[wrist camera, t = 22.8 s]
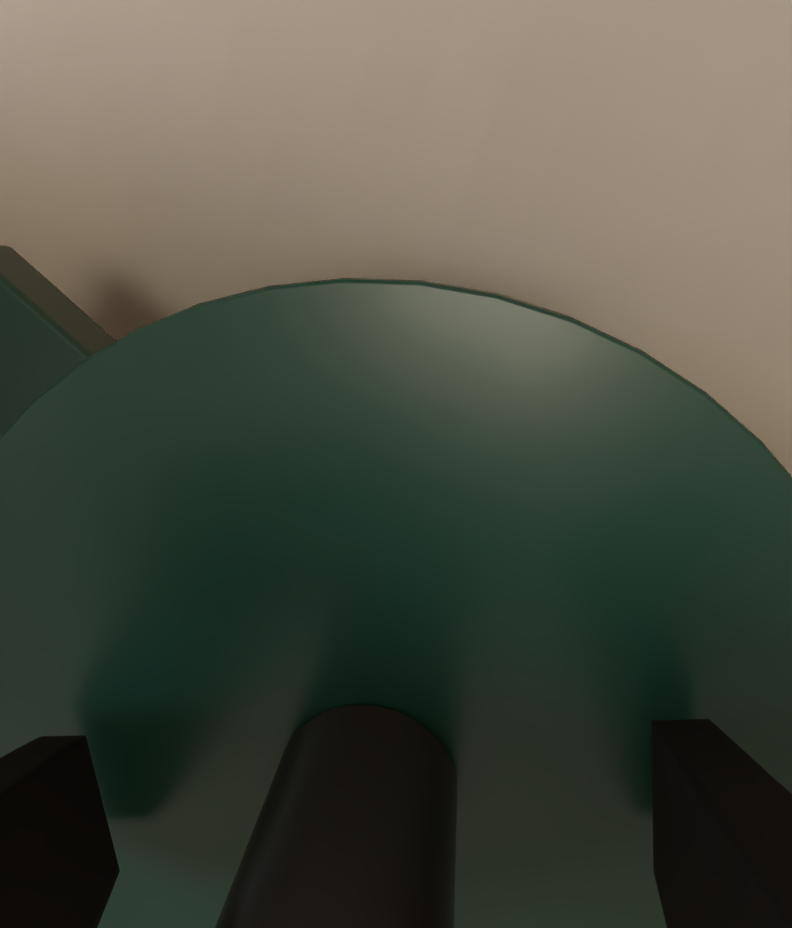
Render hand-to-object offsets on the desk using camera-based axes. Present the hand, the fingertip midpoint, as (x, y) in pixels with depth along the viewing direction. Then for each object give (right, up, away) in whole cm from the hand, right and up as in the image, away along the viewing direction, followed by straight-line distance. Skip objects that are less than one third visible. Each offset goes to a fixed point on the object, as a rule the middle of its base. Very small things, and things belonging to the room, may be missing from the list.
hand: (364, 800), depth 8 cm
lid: (0, 0, +1) cm, 1 cm away
